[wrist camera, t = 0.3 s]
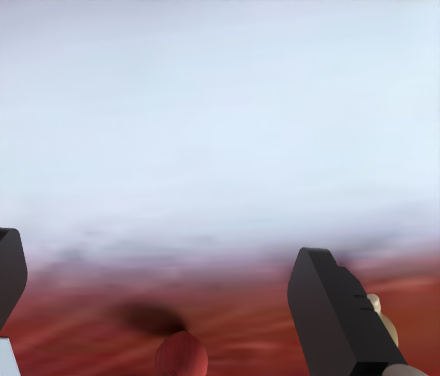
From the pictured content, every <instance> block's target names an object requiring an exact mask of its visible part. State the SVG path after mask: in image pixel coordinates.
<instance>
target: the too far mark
mask: <svg viewBox="0 0 440 376" xmlns="http://www.w3.org/2000/svg"><path fill="white" fill-rule="evenodd" d="M0 376H20V372H19V369H18V366H17V363H16V360H15V357H14V354H13V351H12V347H11V344H10V341H9V338H1V337H0Z"/></svg>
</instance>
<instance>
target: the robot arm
mask: <svg viewBox="0 0 440 376" xmlns="http://www.w3.org/2000/svg"><path fill="white" fill-rule="evenodd" d="M26 282H27V266H26V262H25V257H24V252H23V247H22V243H21V238H20V234H19V231H18V230H17V229H15V228H0V331H1V329H2V327H3V326H4V324H5V322H6V321H7V319H8V317H9V315H10V314H11V312H12V310H13V309H14V307H15V305H16V304H17V302H18V300H19V298H20V297H21V295H22V293H23V291H24V289H25V286H26ZM287 296H288V304H289V307H290V310H291V314H292V317H293V320H294V323H295V327H296V330H297V333H298V336H299V340H300V343H301V346H302V349H303V353H304V356H305V359H306V362H307V365H308V369H309V372H310V375H311V376H428V375H426V374H425V373H423V372H421V371H420V370H418V369H416V368H414V367H411V366H409V365H408V364H407V362H406V361H405V359H404V357H403V356H402V354H401V352H400V351H399V349H398V347H397V345H396V344H395V342H394V340H393V339H392V337H391V335H390V334H389V332H388V330H387V328H386V327H385V325H384V323H383V322H382V320H381V318H380V316H379V315H378V313H377V312H375V308H374V306H373V304H372V303H371V301H370V299H368V298H367V294H366V292H365V291H364V289H363V287H362V286H361V284H360V282H359V280H358V279H356V278H355V277H354V276H353V275H352V274H351V273H350V272H349V271H348V270H347V269H346V268H345V267H338V266H337V264H336V262H335V260H334V258H333V256H332V254H331V253H330V251H329V250H328V249H321V248H305V247H303V248H301V249H300V251H299V253H298V256H297V259H296V262H295V265H294V268H293V271H292V274H291V277H290V280H289V284H288V290H287Z"/></svg>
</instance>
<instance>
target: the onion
mask: <svg viewBox="0 0 440 376" xmlns="http://www.w3.org/2000/svg"><path fill="white" fill-rule="evenodd" d="M207 364H208V357H207V352H206V350H205V348H204V346H203V345H202V343H201V341H199V340H198V339H197V338H196V337H194V336H193V335H191V334H190V333H188V332H187V331H180V332H177V333H175V334H173V335H171V336H169V337H168V338H167V339H165V340H164V342H163V343H162V344H161V346H160V347H159V349H158V350H157V353H156V357H155V371H156V376H205V374H206V372H207Z"/></svg>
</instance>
